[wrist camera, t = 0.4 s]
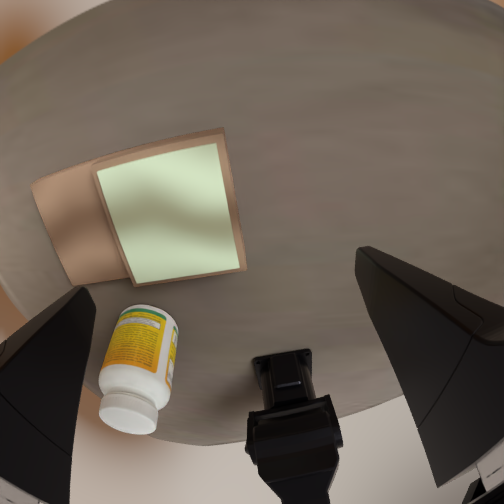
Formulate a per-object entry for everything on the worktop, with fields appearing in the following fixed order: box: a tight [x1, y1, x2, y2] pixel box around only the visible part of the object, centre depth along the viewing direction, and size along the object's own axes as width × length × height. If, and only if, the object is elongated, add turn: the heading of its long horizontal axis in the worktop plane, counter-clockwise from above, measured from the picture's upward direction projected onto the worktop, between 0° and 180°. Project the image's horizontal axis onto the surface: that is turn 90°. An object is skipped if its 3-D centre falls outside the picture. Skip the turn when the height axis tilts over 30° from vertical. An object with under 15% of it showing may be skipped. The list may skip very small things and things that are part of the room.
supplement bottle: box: [99, 304, 178, 435], centre depth 24 cm, size 6×6×11 cm
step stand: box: [30, 127, 247, 287], centre depth 21 cm, size 10×16×3 cm, turn 98°
